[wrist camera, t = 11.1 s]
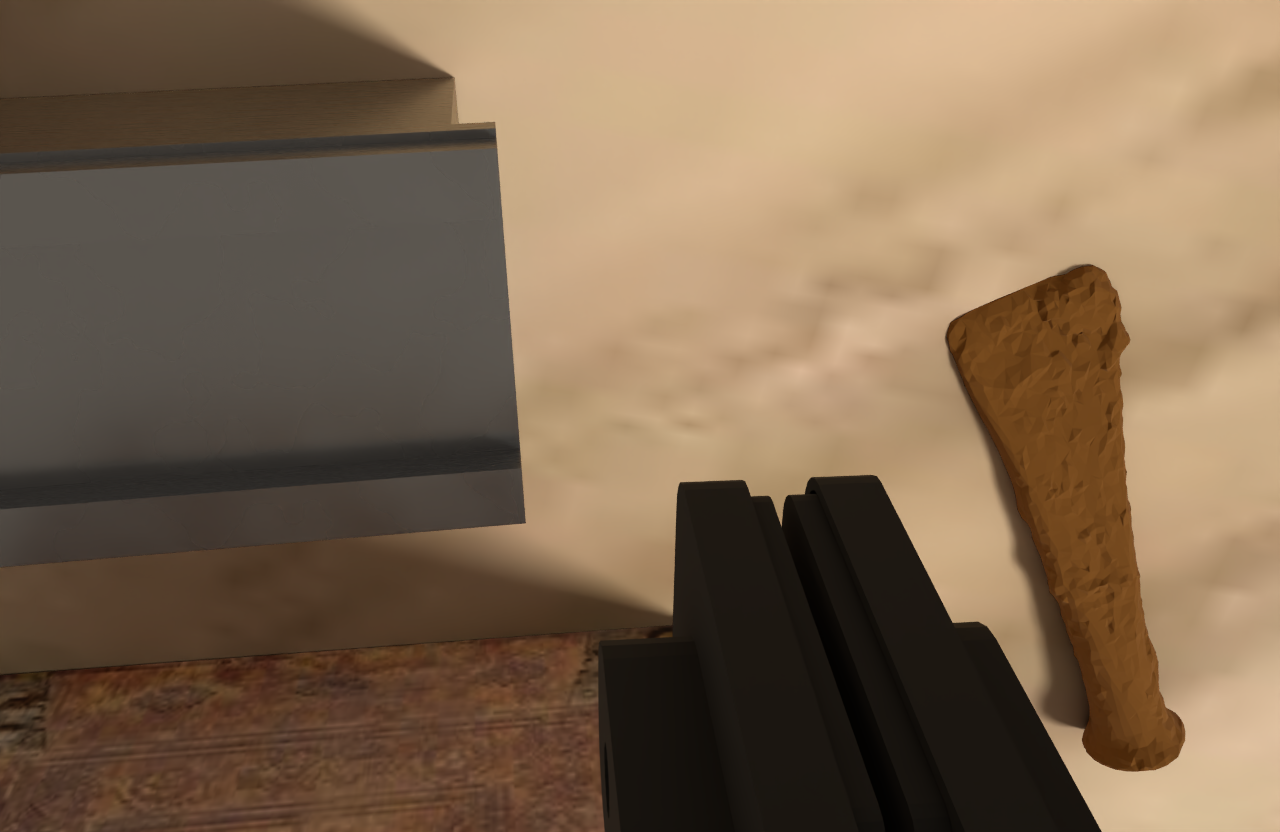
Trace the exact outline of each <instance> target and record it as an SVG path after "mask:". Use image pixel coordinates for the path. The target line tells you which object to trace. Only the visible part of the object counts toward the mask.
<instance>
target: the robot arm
mask: <svg viewBox="0 0 1280 832" xmlns="http://www.w3.org/2000/svg"><path fill="white" fill-rule="evenodd" d="M598 714H599V751H600V773H601V790H602V804H603V817H604V829H605V832H1102V831H1101V830H1100V828H1099V826H1098V824H1097V822H1096V820H1095V819H1094V817H1093V815H1092V813H1091V811H1090V810H1089V808H1088V806H1087V804H1086V802H1085V800H1084V799H1083V797H1082V795H1081V793H1080V791H1079V789H1078V788H1077V786H1076V784H1075V782H1074V780H1073V779H1072V777H1071V775H1070V773H1069V771H1068V769H1067V768H1066V766H1065V764H1064V762H1063V760H1062V758H1061V757H1060V755H1059V753H1058V751H1057V749H1056V748H1055V746H1054V744H1053V742H1052V740H1051V738H1050V737H1049V735H1048V733H1047V731H1046V729H1045V727H1044V726H1043V724H1042V722H1041V720H1040V718H1039V716H1038V715H1037V713H1036V711H1035V709H1034V707H1033V706H1032V704H1031V702H1030V700H1029V698H1028V696H1027V695H1026V693H1025V691H1024V689H1023V687H1022V685H1021V684H1020V682H1019V680H1018V678H1017V676H1016V675H1015V673H1014V671H1013V669H1012V667H1011V665H1010V664H1009V662H1008V660H1007V658H1006V656H1005V654H1004V653H1003V651H1002V649H1001V647H1000V645H999V644H998V642H997V640H996V638H995V637H994V636H993V634H992V633H991V631H990V630H989V629H988V627H987V626H985V625H983V624H981V623H979V622H964V623H952V621H951V619H950V617H949V615H948V613H947V611H946V609H945V607H944V605H943V603H942V601H941V599H940V597H939V595H938V593H937V591H936V589H935V587H934V585H933V583H932V581H931V579H930V577H929V576H928V574H927V572H926V570H925V568H924V566H923V564H922V562H921V560H920V558H919V556H918V554H917V552H916V550H915V548H914V546H913V544H912V542H911V540H910V538H909V536H908V534H907V532H906V530H905V528H904V526H903V524H902V522H901V520H900V518H899V517H898V515H897V513H896V511H895V509H894V507H893V505H892V503H891V501H890V499H889V497H888V495H887V493H886V491H885V489H884V487H883V485H882V483H881V481H880V480H879V479H878V477H877V476H874V475H860V476H834V477H811V478H810V480H809V481H808V483H807V486H806V490H805V494H802V495H788V496H787V497H786V499H785V502H784V509H783V519H782V527H781V524H780V521H779V519H778V516H777V513H776V510H775V507H774V504H773V501H772V499H771V497H769V496H752V497H751V496H750V493H749V490H748V487H747V485H746V482H745V481H743V480H730V481H704V482H680V484H679V487H678V493H677V511H676V542H675V573H674V604H673V635H672V637H662V638H642V639H622V640H602V641H600V642H599V650H598Z"/></svg>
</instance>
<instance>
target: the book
mask: <svg viewBox="0 0 1280 832" xmlns="http://www.w3.org/2000/svg"><path fill="white" fill-rule="evenodd" d="M672 635H673V625H668V626H654V627H641V628H627V629H614V630H600V631H587V632H574V633H560V634H547V635H533V636H520V637H507V638H493V639H480V640H466V641H453V642H440V643H426V644H413V645H399V646H386V647H372V648H359V649H346V650H332V651H319V652H305V653H292V654H279V655H265V656H252V657H238V658H225V659H212V660H198V661H185V662H171V663H158V664H144V665H131V666H118V667H104V668H91V669H77V670H64V671H51V672H37V673H24V674H10V675H0V832H605V829H604V817H603V804H602V790H601V773H600V751H599V714H598V650H599V642H600V641H602V640H622V639H642V638H662V637H672Z"/></svg>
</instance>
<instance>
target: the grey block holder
mask: <svg viewBox="0 0 1280 832" xmlns="http://www.w3.org/2000/svg"><path fill="white" fill-rule="evenodd" d="M522 523H526V522H525V508H524V494H523V481H522V468H521V455H520V442H519V429H518V416H517V403H516V389H515V376H514V363H513V350H512V337H511V324H510V311H509V298H508V285H507V272H506V259H505V245H504V232H503V219H502V206H501V193H500V180H499V167H498V154H497V141H496V128H495V122H486V123H467V124H459V123H458V112H457V101H456V90H455V79H454V78H433V79H412V80H390V81H369V82H348V83H327V84H305V85H284V86H263V87H241V88H220V89H199V90H178V91H156V92H135V93H114V94H92V95H71V96H50V97H29V98H7V99H0V567H8V566H20V565H32V564H44V563H56V562H68V561H80V560H92V559H104V558H116V557H128V556H140V555H152V554H164V553H176V552H188V551H200V550H212V549H224V548H235V547H247V546H259V545H271V544H283V543H295V542H307V541H319V540H331V539H343V538H355V537H367V536H379V535H391V534H403V533H415V532H427V531H439V530H451V529H463V528H475V527H487V526H498V525H510V524H522Z"/></svg>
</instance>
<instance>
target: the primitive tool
mask: <svg viewBox="0 0 1280 832" xmlns="http://www.w3.org/2000/svg"><path fill="white" fill-rule="evenodd" d="M1120 313H1121V304H1120V300H1119V297H1118V293H1117V291H1116V290H1115V289H1114V288H1112V286H1111V283H1110V280H1109V278H1108V276H1107V274H1106V272H1105V271H1104V270H1102V269H1100V268H1098V267H1095V266H1094V265H1091V266H1082V267H1080V268H1077V269H1074V270H1072V271H1070V272H1069V273H1067V274H1064V275H1059V276H1054V277H1050V278H1047V279H1045V280H1042V281H1040V282H1038V283H1035V284H1033V285H1030V286H1028V287H1026V288H1023V289H1021V290H1019V291H1016V292H1014V293H1012V294H1009V295H1007V296H1004V297H1002V298H999V299H997V300H995V301H992V302H990V303H988V304H985V305H983V306H981V307H978V308H976V309H974V310H972V311H970V312H968V313H966V314H965V315H963V316H962V317H960V318H958V319H956V320H954V321H952V322H951V323H950V326H949V329H948V333H947V339H948V342H949V345H950V351H951V353H952V354H953V356H954V359H955V361H956V364H957V367H958V370H959V372H960V374H961V377H962V379H963V382H964V386H965V387H966V389H967V391H968V393H969V395H970V397H971V399H972V401H973V403H974V405H975V407H976V409H977V411H978V413H979V415H980V417H981V419H982V421H983V423H984V424H985V426H986V427H987V429H988V431H989V433H990V435H991V437H992V439H993V441H994V443H995V445H996V447H997V449H998V451H999V454H1000V456H1001V458H1002V460H1003V463H1004V465H1005V467H1006V470H1007V472H1008V474H1009V477H1010V479H1011V482H1012V485H1013V488H1014V491H1015V496H1016V501H1017V509H1018V511H1019V513H1020V515H1021V518H1022V519H1023V520H1024V521H1025V522H1026V523H1027V524H1028V525H1029V527H1030V529H1031V533H1032V538H1033V541H1034V543H1035V545H1036V547H1037V550H1038V552H1039V554H1040V557H1041V560H1042V563H1043V566H1044V569H1045V572H1046V575H1047V579H1048V585H1049V591H1050V594H1052V595H1053V596H1054V598H1055V599H1056V601H1057V602H1058V604H1059V606H1060V611H1061V616H1062V618H1063V621H1064V623H1065V625H1066V631H1067V633H1068V636H1069V638H1070V641H1071V643H1072V645H1073V650H1074V656H1075V657H1076V658H1077V659H1078V662H1079V666H1080V669H1081V673H1082V678H1083V681H1084V684H1085V688H1086V693H1087V698H1088V702H1089V707H1090V716H1089V721H1088V724H1087V726H1086V728H1085V730H1084V733H1083V738H1082V742H1083V745H1084V748H1086V752H1087V753H1088V754H1089V755H1090V756H1091V757H1092V758H1093V759H1094V760H1095V761H1097V762H1099V763H1100V764H1102V765H1105V766H1107V767H1110V768H1113V769H1116V770H1122V771H1135V772H1136V771H1147V770H1156V769H1159V768H1161V767H1164V766H1166V765H1168V764H1169V763H1171V762H1172V761H1173V760H1175V759H1176V758H1177V757H1178V756H1179V753H1180V751H1181V748H1182V746H1183V743H1184V741H1185V728H1184V724H1183V722H1182V720H1181V719H1180V717H1179V716H1178V715H1177V714H1176V713H1175V712H1173V711H1171V710H1169V709H1167V708H1166V707H1165V704H1164V700H1163V697H1162V695H1161V693H1160V691H1159V683H1158V681H1159V675H1158V660H1157V656H1156V652H1155V650H1154V647H1153V645H1152V643H1151V641H1150V639H1149V637H1148V631H1147V628H1146V625H1145V620H1144V611H1143V608H1142V599H1141V596H1140V579H1139V578H1140V574H1139V571H1138V567H1137V562H1136V554H1135V548H1134V536H1133V531H1132V527H1131V507H1130V503H1129V501H1128V496H1127V486H1126V474H1127V471H1126V469H1125V461H1124V454H1125V441H1124V436H1123V428H1122V427H1123V417H1122V409H1123V398H1122V393H1121V389H1120V376H1121V374H1122V372H1121V369H1120V365H1119V358H1120V355H1121V353H1122V352H1123V350H1124V349H1125V348H1126V346H1127V345H1128V344H1129V342H1130V337H1129V335H1128V333H1127V332H1126V331H1125V327H1124V325H1123V324H1122V322H1121V316H1120Z"/></svg>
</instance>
